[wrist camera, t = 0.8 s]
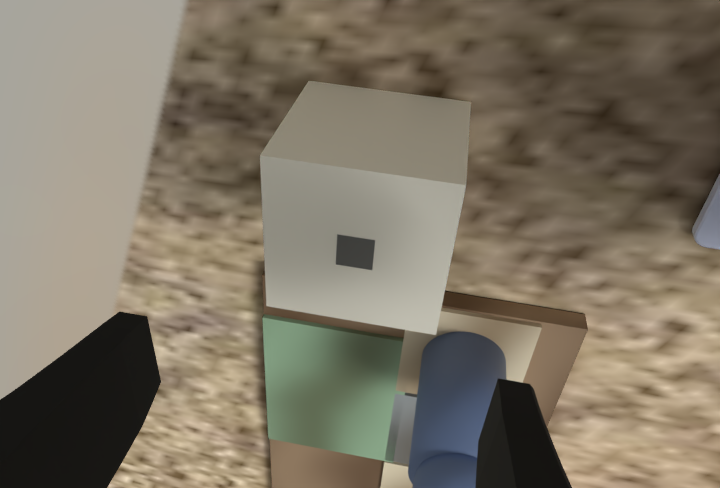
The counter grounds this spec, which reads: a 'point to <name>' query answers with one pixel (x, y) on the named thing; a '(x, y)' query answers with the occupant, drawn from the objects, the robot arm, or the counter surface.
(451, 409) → the blue cylinder
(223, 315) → the counter surface
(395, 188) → the beige cube
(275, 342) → the board
